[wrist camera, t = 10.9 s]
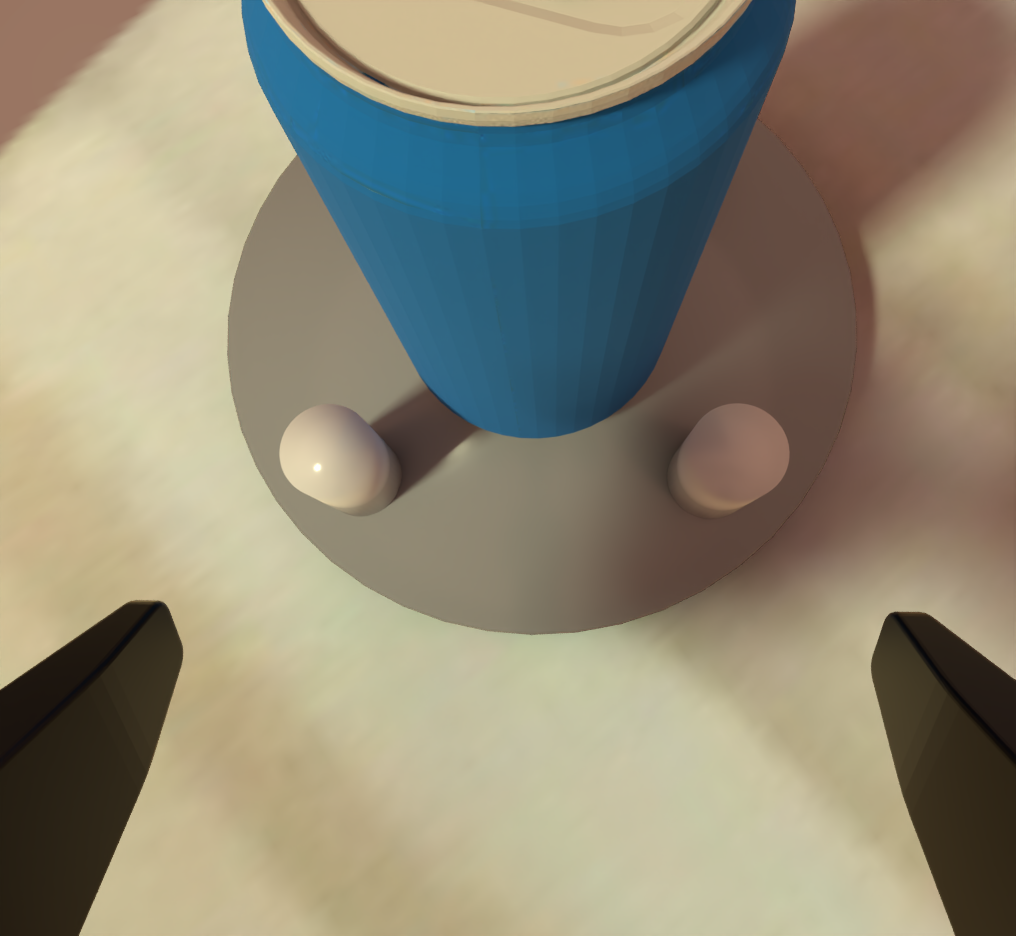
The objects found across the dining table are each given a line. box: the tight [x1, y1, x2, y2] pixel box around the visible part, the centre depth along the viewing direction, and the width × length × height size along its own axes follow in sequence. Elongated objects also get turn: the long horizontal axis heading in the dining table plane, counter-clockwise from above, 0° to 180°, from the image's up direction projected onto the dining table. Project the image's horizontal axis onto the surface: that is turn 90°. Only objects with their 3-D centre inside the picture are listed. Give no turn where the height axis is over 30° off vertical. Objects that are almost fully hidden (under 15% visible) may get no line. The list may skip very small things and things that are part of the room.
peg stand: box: [227, 118, 856, 635], centre depth 18 cm, size 16×16×4 cm
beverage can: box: [242, 0, 796, 439], centre depth 13 cm, size 6×6×12 cm
